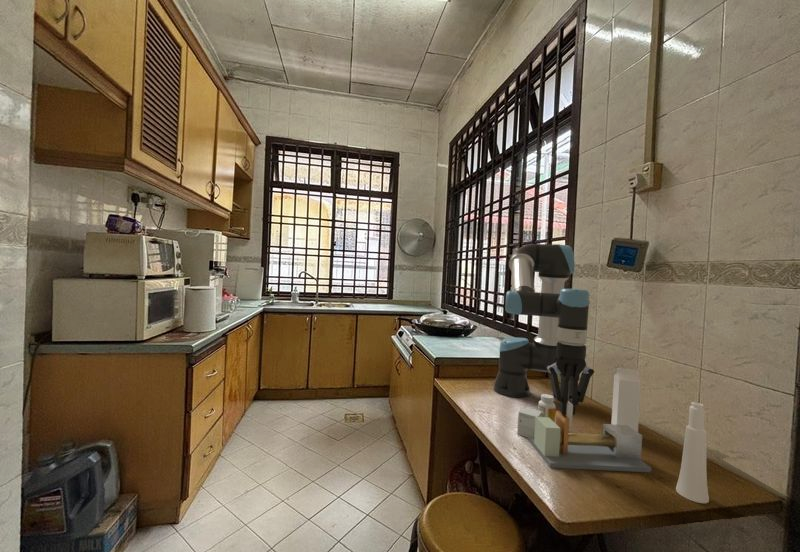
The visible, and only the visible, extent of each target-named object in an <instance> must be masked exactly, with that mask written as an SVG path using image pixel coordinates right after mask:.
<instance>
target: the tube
mask: <svg viewBox="0 0 800 552" xmlns="http://www.w3.org/2000/svg"><path fill="white" fill-rule="evenodd" d="M555 424H556V425H558V426H559V427H560V428H561V430H560V447H559V450H560V451H561V452H562V453H563V454H567V453H568V445H579V446H600V447H614V436H612V435H606V434H603V433H602V434H601V433H599V434H598V433H584V432H583V433H581V432H570V428H569V418H568V417H567V416H566V415H563V414H562V413H560V410H555Z"/></svg>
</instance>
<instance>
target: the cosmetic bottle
mask: <svg viewBox="0 0 800 552" xmlns="http://www.w3.org/2000/svg"><path fill="white" fill-rule="evenodd" d="M704 406H705V405H704V404H703V403H700V402H695V401H691V405H690V406H689V408H688V409H689V412H688V413H689V414H688V424H687V425H686V426H685V430H684V431H685V432H684V440H683V447H682V457H681V464H680V470H679V476H678V480H677V482H676V487H675V491H676V492H677V493H678V494H679V495H680V496H682V497H683V498H684V499H686V500H688V501H692V502H693V503H698V504H708V503H709V502H710V497H709V489H708V479H707V430H706V429H705V417H706V409H705V408H704Z"/></svg>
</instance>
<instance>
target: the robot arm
mask: <svg viewBox="0 0 800 552" xmlns="http://www.w3.org/2000/svg"><path fill="white" fill-rule="evenodd" d="M575 265H576V264H575V255H574V250H573V248H572V247H571V246H570V245H569V244H560V243H558V244H555V243H554V244H553V243H552V244H548V243H546V244H545V243H543V244H542V243H541V244H540V243H539V244H537V243H529V244H525V245H522V246H521V247H518V249H516V250H514V252H513V253H512V254H511V256H510V257H509V261H508V267H509V270H510V271H511V290H508V291H507V292H506V293H505V307H504V308H505V309H504V310H505V312H506V313H508V314H512V315H517V316H519V315H520V316H521V315H522V316H532V317H533V316H536V317H538V318H539V319H538V332H537V335H536V336H535V337H534V338H533V342H530V341H529V339H528V338H525V337H508V338H507V337H506V338H504V339H502V340H501V341H500V345H499V349H498V350H499V359H498V371H497V372H498V373H497V375H496V377H495V380H494V383H493V390H494V391H495V393H497V394H500V395H502V396H506V397H513V398H526V397H528V396H530V395H531V394H530V393H531V391H530V390H531V389H530V388H531V387H530V385H529V381H528V378H527V377H528V376H527V371H528V370H529V371H537V372H543V373H548V374H549V378H550V386H551V391H552V396H553V397H554V399H555V400H556V401H558V402H560V403H559V411H560V413H562V414H563V415H566V416H567V417H568V418H569V429H572V428H573V416H575V415H576V409H577V408H576V407H577V406H578V405H579V403H583V402H584V399H585V396H586V394H587V391H588V390H587V389H588V387H589V383H590V380H591V377H592V376H593V375H594V373H595V370H594V369H592V368H591V367H589V366H588V365H587V362H586V357H587V346H586V344H587V340H588V322H589V309H590V307H589V306H590V303H591V302H590V292H589V291H588V290H587V289H582V288H579V289H576V288H565V282H566V281H567V280H568V279H570V275H573V274H574V273H575V267H576V266H575ZM534 273H538V275H537V276H538V277H539V279H540V280H541V291H540V292H536V288H535V280H534ZM558 374H559V376H558ZM559 377H560V383H559Z"/></svg>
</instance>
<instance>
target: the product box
mask: <svg viewBox="0 0 800 552" xmlns="http://www.w3.org/2000/svg"><path fill="white" fill-rule="evenodd" d="M517 414H518V417H517V418H518V419H517V431H516V432H517V433H516V434H517V435H518V436H519V435H520V436H521V437H526V438H527V439H528V438H529V437H533V438H534V435H535V418H536V417H542V411H538V409H535V408H531V407H527V406H522V407H521V409H520V410H519V411H518V413H517Z"/></svg>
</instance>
